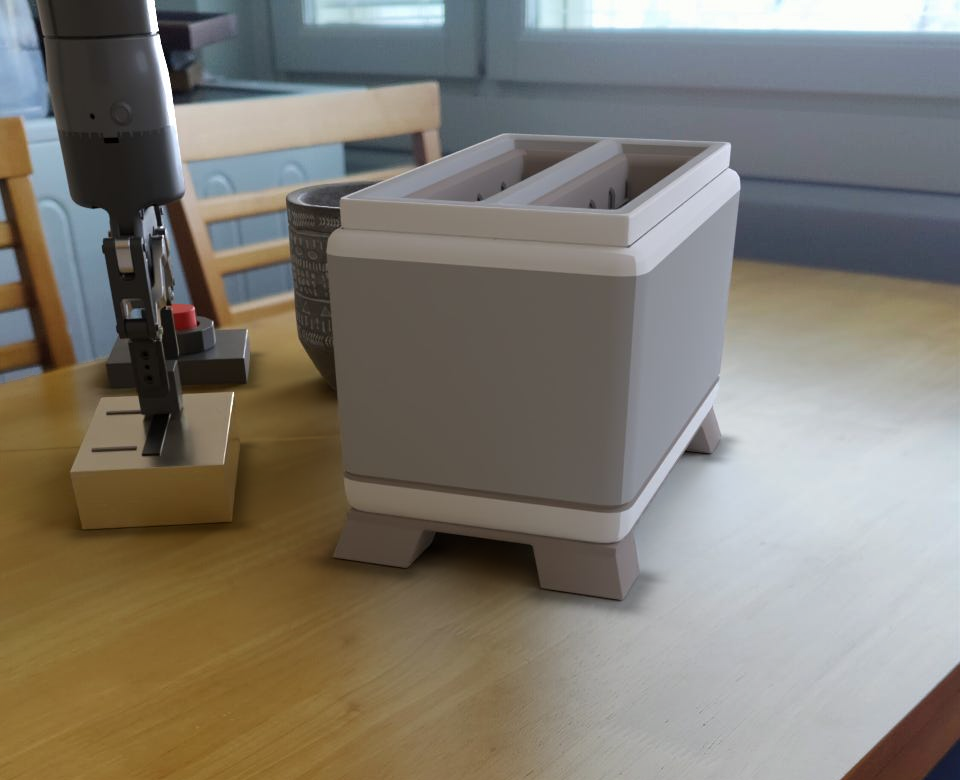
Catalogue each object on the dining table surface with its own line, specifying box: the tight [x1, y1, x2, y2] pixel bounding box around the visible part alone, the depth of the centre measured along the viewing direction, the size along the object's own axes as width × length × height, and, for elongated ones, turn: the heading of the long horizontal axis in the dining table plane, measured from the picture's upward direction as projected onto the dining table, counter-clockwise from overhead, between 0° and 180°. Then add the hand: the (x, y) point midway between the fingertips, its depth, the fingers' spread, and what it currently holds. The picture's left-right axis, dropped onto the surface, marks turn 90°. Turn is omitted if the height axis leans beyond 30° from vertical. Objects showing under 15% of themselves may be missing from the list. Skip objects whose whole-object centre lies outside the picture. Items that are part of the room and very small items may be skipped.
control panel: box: [69, 391, 241, 530], centre depth 87 cm, size 10×16×4 cm, turn 7°
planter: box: [285, 179, 385, 392], centre depth 104 cm, size 14×14×15 cm
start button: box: [167, 303, 197, 331], centre depth 109 cm, size 4×4×2 cm
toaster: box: [326, 133, 741, 601], centre depth 82 cm, size 19×34×20 cm, turn 160°
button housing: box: [105, 315, 251, 390], centre depth 110 cm, size 12×10×4 cm
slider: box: [137, 360, 183, 415], centre depth 88 cm, size 3×3×3 cm
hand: (160, 378), depth 88 cm, fingers open, 8 cm apart
